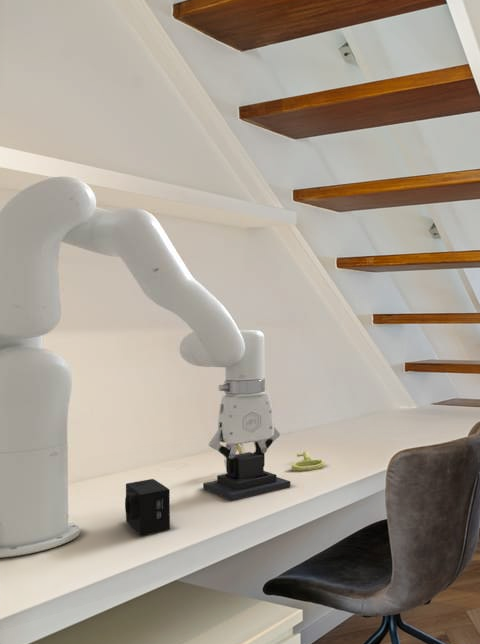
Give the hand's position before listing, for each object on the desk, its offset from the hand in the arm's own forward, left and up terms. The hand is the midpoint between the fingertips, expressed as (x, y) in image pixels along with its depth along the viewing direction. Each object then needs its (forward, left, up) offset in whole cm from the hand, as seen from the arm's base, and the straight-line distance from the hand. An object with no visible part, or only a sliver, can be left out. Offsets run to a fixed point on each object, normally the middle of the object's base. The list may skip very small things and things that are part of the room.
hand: (245, 473), depth 125 cm
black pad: (0, 0, 0) cm, 0 cm away
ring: (+4, +15, -3) cm, 16 cm away
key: (+18, +8, -3) cm, 20 cm away
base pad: (0, 0, -3) cm, 3 cm away
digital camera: (-22, -10, -3) cm, 24 cm away
